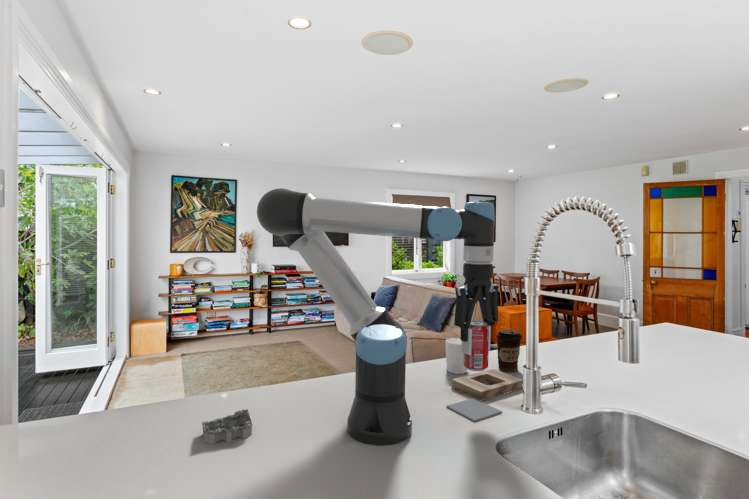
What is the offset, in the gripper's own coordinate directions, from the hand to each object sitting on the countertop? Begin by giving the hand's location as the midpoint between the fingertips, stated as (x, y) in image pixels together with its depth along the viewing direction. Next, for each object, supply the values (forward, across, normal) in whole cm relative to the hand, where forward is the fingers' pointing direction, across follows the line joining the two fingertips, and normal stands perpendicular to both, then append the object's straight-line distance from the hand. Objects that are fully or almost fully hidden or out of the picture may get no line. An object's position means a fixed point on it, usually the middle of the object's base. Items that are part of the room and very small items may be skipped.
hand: (475, 351), depth 111 cm
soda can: (+5, 0, 0) cm, 5 cm away
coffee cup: (+16, +34, +17) cm, 41 cm away
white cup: (+16, +18, +25) cm, 35 cm away
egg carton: (+16, -58, +20) cm, 63 cm away
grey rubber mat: (+16, 0, 0) cm, 16 cm away
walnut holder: (+16, +15, +9) cm, 23 cm away
